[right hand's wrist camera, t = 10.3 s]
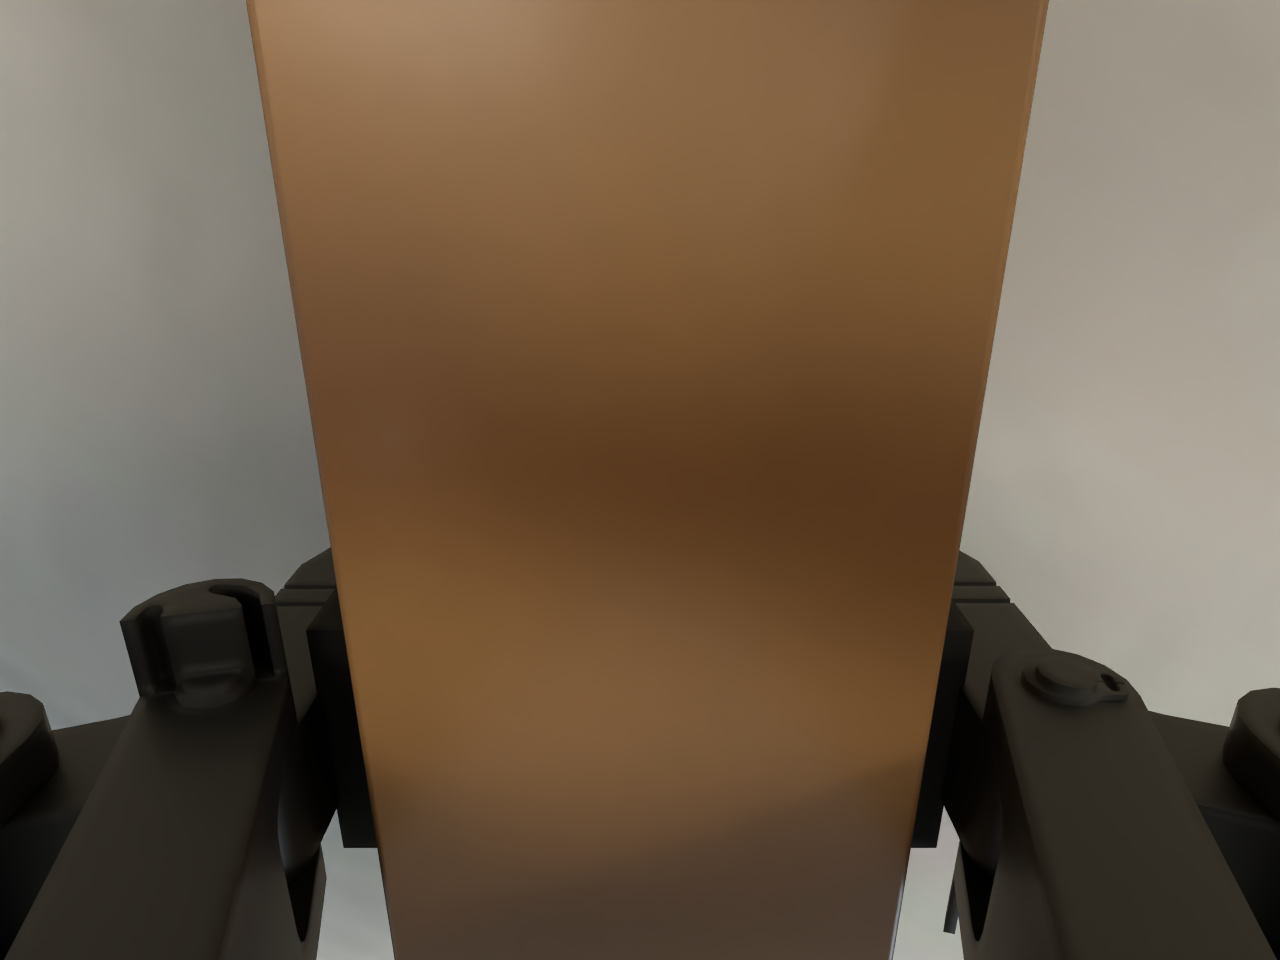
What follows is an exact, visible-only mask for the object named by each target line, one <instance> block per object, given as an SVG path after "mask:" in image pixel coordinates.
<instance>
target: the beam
mask: <svg viewBox="0 0 1280 960" xmlns="http://www.w3.org/2000/svg"><path fill="white" fill-rule="evenodd" d="M1048 2H1049V0H246V3H247V9H248V16H249V22H250V29H251V35H252V41H253V48H254V54H255V61H256V67H257V74H258V80H259V87H260V93H261V100H262V106H263V112H264V119H265V125H266V132H267V138H268V145H269V151H270V158H271V164H272V171H273V177H274V183H275V190H276V196H277V203H278V209H279V216H280V222H281V229H282V235H283V242H284V248H285V254H286V261H287V267H288V274H289V280H290V287H291V293H292V300H293V306H294V313H295V319H296V325H297V332H298V338H299V345H300V351H301V358H302V364H303V371H304V377H305V383H306V390H307V396H308V403H309V409H310V416H311V422H312V429H313V435H314V442H315V448H316V454H317V461H318V467H319V474H320V480H321V487H322V493H323V500H324V506H325V513H326V519H327V525H328V532H329V538H330V545H331V551H332V558H333V564H334V571H335V577H336V584H337V590H338V596H339V603H340V609H341V616H342V622H343V629H344V635H345V642H346V648H347V655H348V661H349V667H350V674H351V680H352V687H353V693H354V700H355V706H356V713H357V719H358V726H359V732H360V738H361V745H362V751H363V758H364V764H365V771H366V777H367V784H368V790H369V797H370V803H371V809H372V816H373V822H374V829H375V835H376V842H377V848H378V855H379V861H380V868H381V874H382V880H383V887H384V893H385V900H386V906H387V913H388V919H389V926H390V932H391V939H392V945H393V951H394V958H395V960H893V953H894V947H895V941H896V935H897V929H898V923H899V917H900V910H901V904H902V898H903V892H904V886H905V880H906V874H907V868H908V861H909V855H910V849H911V843H912V837H913V831H914V825H915V818H916V812H917V806H918V800H919V794H920V788H921V782H922V775H923V769H924V763H925V757H926V751H927V745H928V739H929V732H930V726H931V720H932V714H933V708H934V702H935V696H936V690H937V683H938V677H939V671H940V665H941V659H942V653H943V647H944V640H945V634H946V628H947V622H948V616H949V610H950V604H951V597H952V591H953V585H954V579H955V573H956V567H957V561H958V555H959V548H960V542H961V536H962V530H963V524H964V518H965V512H966V505H967V499H968V493H969V487H970V481H971V475H972V469H973V462H974V456H975V450H976V444H977V438H978V432H979V426H980V420H981V413H982V407H983V401H984V395H985V389H986V383H987V377H988V370H989V364H990V358H991V352H992V346H993V340H994V334H995V327H996V321H997V315H998V309H999V303H1000V297H1001V291H1002V285H1003V278H1004V272H1005V266H1006V260H1007V254H1008V248H1009V242H1010V235H1011V229H1012V223H1013V217H1014V211H1015V205H1016V199H1017V192H1018V186H1019V180H1020V174H1021V168H1022V162H1023V156H1024V149H1025V143H1026V137H1027V131H1028V125H1029V119H1030V113H1031V107H1032V100H1033V94H1034V88H1035V82H1036V76H1037V70H1038V64H1039V57H1040V51H1041V45H1042V39H1043V33H1044V27H1045V21H1046V14H1047V8H1048Z"/></svg>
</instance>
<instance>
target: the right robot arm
mask: <svg viewBox="0 0 1280 960" xmlns="http://www.w3.org/2000/svg"><path fill="white" fill-rule="evenodd" d="M120 625H121V629H122V632H123V636H124V640H125V643H126V647H127V651H128V655H129V658H130V662H131V666H132V669H133V673H134V677H135V680H136V684H137V688H138V692H139V695H140V698H139V700H138V702H137V704H136V705H135V707H134V709H133V711H132V713H131V715H128V716H124V717H120V718H115V719H110V720H105V721H100V722H94V723H89V724H84V725H79V726H73V727H68V728H63V729H58V730H51V727H50V724H49V721H48V718H47V715H46V712H45V709H44V706H43V704H42V703H41V702H40V701H38V700H37V699H36V698H34V697H33V696H32V695H29V694H22V693H15V692H0V960H316V957H317V949H318V941H319V933H320V925H321V918H322V910H323V902H324V894H325V886H326V871H325V864H324V858H323V853H322V847H321V841H322V839H323V836H324V834H325V832H326V830H327V828H328V826H329V824H330V821H331V819H332V817H333V815H334V813H335V811H336V809H337V812H338V818H339V824H340V829H341V835H342V841H343V847H344V848H377V842H376V835H375V829H374V822H373V816H372V809H371V803H370V797H369V790H368V784H367V777H366V771H365V764H364V758H363V751H362V745H361V738H360V732H359V726H358V719H357V713H356V706H355V700H354V693H353V687H352V680H351V674H350V667H349V661H348V655H347V648H346V642H345V635H344V629H343V622H342V616H341V609H340V603H339V596H338V590H337V584H336V577H335V571H334V564H333V558H332V551H331V548H329V549H327V550H326V551H324V552H322V553H320V554H319V555H317V556H315V557H314V558H312V559H310V560H309V561H307V562H305V563H304V564H302V565H301V566H300V567H299V568H298V569H297V571H296V572H295V573H294V574H293V575H292V577H291V578H290V579H289V580H288V581H287V583H286V584H285V588H284V589H281V590H280V591H279V592H278V593H277V595H276V596H275V597H274V591H272V590H271V589H270V588H268V587H267V586H265V585H264V584H263V583H261V582H256V581H251V580H246V579H213V580H207V581H202V582H197V583H191V584H186V585H183V586H180V587H177V588H174V589H171V590H168V591H165V592H163V593H160V594H157V595H155V596H153V597H152V598H150V599H148V600H146V601H144V602H143V603H141V604H139V605H137V606H135V607H134V608H133V609H132V610H131V611H130V612H129V613H128V614H127V615H126V616H125V617H124V618H123V619H122V620H121V621H120ZM944 806H945V809H946V811H947V813H948V815H949V817H950V819H951V821H952V823H953V826H954V828H955V830H956V832H957V834H958V836H959V838H960V842H959V847H958V853H957V858H956V863H955V869H954V874H953V879H952V885H951V890H950V895H949V901H948V906H947V911H946V917H945V924H944V931H943V932H947V933H952V934H955V930H956V924H957V919H958V916H959V923H960V931H961V939H962V947H963V955H964V960H1280V688H1268V689H1261V690H1253V691H1250V692H1249V693H1247V694H1246V695H1244V696H1243V697H1242V698H1240V699H1239V700H1238V703H1237V706H1236V709H1235V712H1234V715H1233V718H1232V721H1231V724H1230V727H1227V726H1221V725H1216V724H1211V723H1206V722H1200V721H1195V720H1190V719H1185V718H1179V717H1174V716H1169V715H1164V714H1160V713H1156V712H1152V711H1148V710H1147V708H1146V706H1145V704H1144V702H1143V700H1142V698H1141V696H1140V695H1139V694H1138V693H1137V691H1136V690H1135V689H1134V688H1133V687H1132V685H1131V684H1130V683H1129V682H1128V681H1127V680H1126V679H1125V678H1123V677H1122V676H1120V675H1119V674H1117V673H1116V672H1114V671H1112V670H1111V669H1109V668H1108V667H1106V666H1105V665H1102V664H1100V663H1098V662H1095V661H1093V660H1090V659H1088V658H1085V657H1083V656H1080V655H1078V654H1073V653H1068V652H1064V651H1059V650H1055V649H1052V648H1051V647H1050V646H1049V645H1048V643H1047V642H1046V641H1045V640H1044V639H1043V637H1042V636H1041V635H1040V634H1039V633H1038V631H1037V630H1036V629H1035V628H1034V627H1033V626H1032V624H1031V623H1030V622H1029V621H1028V620H1027V618H1026V617H1025V616H1024V615H1023V614H1022V612H1021V611H1020V610H1019V609H1018V608H1017V606H1016V605H1015V604H1014V603H1010V598H1009V597H1008V596H1007V595H1006V593H1005V592H1004V591H1003V590H1002V589H1001V587H1000V586H996V581H995V580H994V579H993V578H992V577H991V576H990V574H989V573H988V572H987V571H986V570H985V568H984V567H983V566H982V565H981V564H980V562H978V561H977V560H975V559H973V558H972V557H970V556H968V555H966V554H965V553H963V552H961V551H960V550H959V555H958V561H957V567H956V573H955V579H954V585H953V591H952V597H951V604H950V610H949V616H948V622H947V628H946V634H945V640H944V647H943V653H942V659H941V665H940V671H939V677H938V683H937V690H936V696H935V702H934V708H933V714H932V720H931V726H930V732H929V739H928V745H927V751H926V757H925V763H924V769H923V775H922V782H921V788H920V794H919V800H918V806H917V812H916V818H915V825H914V831H913V837H912V843H911V848H936V847H937V841H938V835H939V830H940V824H941V818H942V812H943V807H944Z"/></svg>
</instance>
